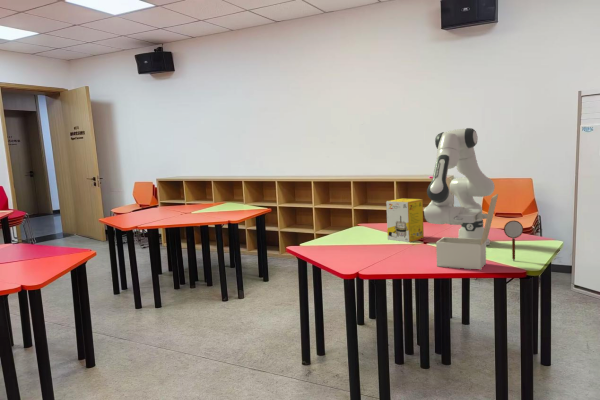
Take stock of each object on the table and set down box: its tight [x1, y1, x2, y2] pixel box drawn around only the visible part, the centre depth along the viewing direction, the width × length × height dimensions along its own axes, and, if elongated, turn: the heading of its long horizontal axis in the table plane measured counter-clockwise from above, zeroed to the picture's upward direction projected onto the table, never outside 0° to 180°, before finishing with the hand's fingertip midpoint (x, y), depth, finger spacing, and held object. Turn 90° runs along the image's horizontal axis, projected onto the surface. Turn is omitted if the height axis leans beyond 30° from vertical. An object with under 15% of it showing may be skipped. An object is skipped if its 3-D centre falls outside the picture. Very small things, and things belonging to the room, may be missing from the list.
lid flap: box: [480, 193, 499, 245], centre depth 205 cm, size 14×22×1 cm
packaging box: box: [385, 198, 425, 243], centre depth 284 cm, size 16×16×25 cm
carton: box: [435, 236, 487, 271], centre depth 214 cm, size 13×20×12 cm, turn 57°
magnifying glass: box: [503, 220, 524, 262], centre depth 215 cm, size 9×2×20 cm, turn 77°
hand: (488, 216), depth 205 cm, fingers closed, pressing on lid flap
